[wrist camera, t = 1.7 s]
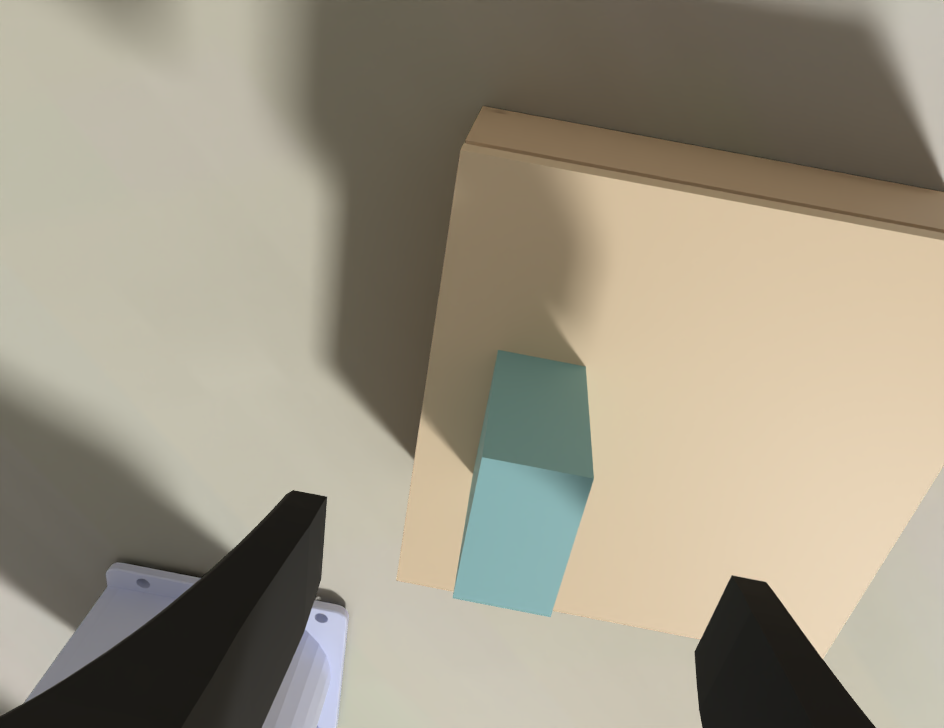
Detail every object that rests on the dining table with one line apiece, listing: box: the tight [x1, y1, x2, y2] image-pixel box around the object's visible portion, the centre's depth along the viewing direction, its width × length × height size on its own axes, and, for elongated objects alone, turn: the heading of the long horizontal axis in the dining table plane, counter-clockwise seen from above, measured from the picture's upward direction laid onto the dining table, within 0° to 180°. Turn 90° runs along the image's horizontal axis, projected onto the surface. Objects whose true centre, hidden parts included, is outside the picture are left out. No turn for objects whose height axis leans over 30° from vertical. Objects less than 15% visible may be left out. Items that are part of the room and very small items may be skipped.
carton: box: [465, 106, 944, 233], centre depth 19 cm, size 12×12×4 cm
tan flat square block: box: [396, 143, 944, 659], centre depth 15 cm, size 12×12×5 cm
